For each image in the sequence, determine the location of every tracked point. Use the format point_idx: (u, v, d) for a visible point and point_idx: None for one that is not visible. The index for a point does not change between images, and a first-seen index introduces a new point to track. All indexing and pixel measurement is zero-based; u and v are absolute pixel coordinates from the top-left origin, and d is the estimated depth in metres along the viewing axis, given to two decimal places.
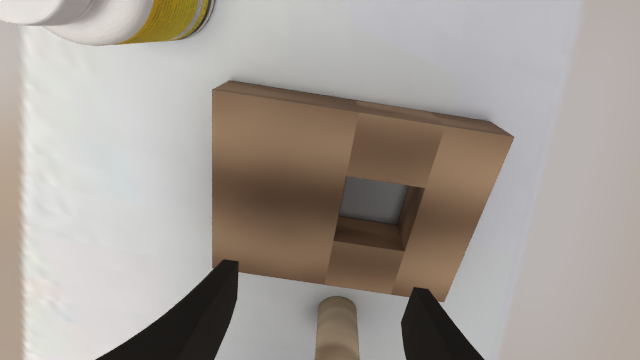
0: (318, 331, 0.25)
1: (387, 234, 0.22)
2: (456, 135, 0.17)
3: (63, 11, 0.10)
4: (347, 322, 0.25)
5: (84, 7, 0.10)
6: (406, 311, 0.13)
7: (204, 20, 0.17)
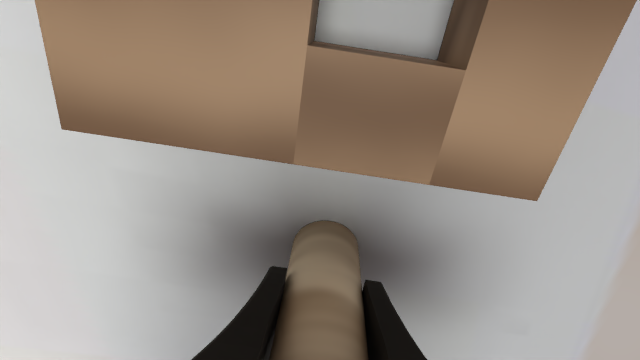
0: (288, 274, 0.13)
1: (421, 59, 0.11)
2: None
3: None
4: (341, 256, 0.13)
5: None
6: None
7: None
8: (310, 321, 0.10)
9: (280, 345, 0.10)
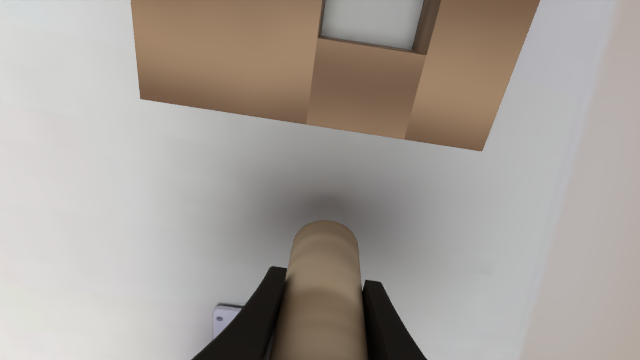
0: (288, 274, 0.13)
1: (398, 49, 0.15)
2: None
3: None
4: (341, 256, 0.13)
5: None
6: None
7: None
8: (310, 320, 0.10)
9: (280, 344, 0.10)
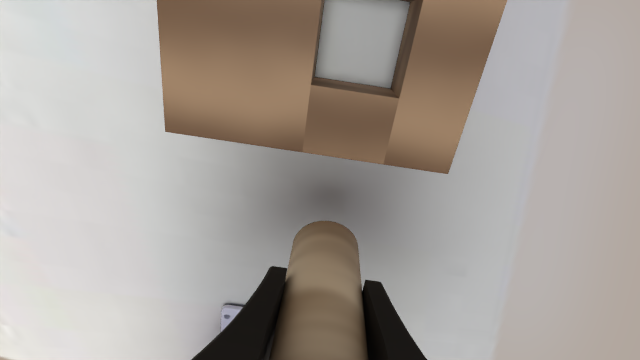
0: (287, 274, 0.13)
1: (378, 90, 0.18)
2: None
3: None
4: (341, 256, 0.13)
5: None
6: None
7: None
8: (310, 320, 0.10)
9: (280, 345, 0.10)
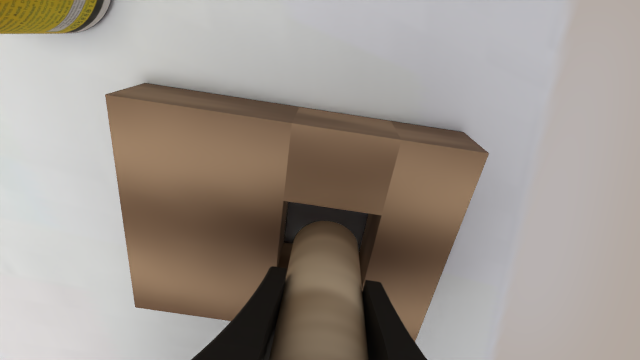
0: (287, 274, 0.13)
1: None
2: (416, 151, 0.14)
3: None
4: (341, 256, 0.13)
5: None
6: None
7: (100, 8, 0.14)
8: (310, 321, 0.10)
9: (280, 346, 0.10)
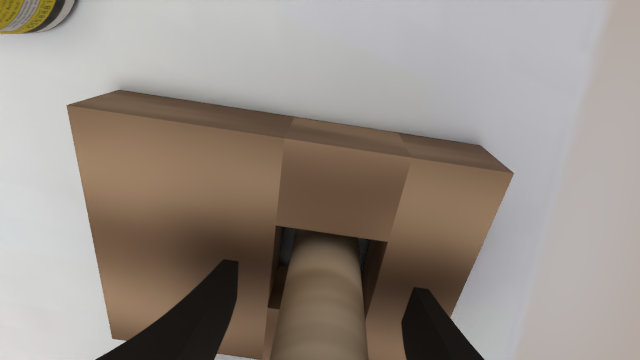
0: (291, 258, 0.14)
1: None
2: (429, 171, 0.12)
3: None
4: (341, 241, 0.14)
5: None
6: (406, 311, 0.13)
7: (62, 4, 0.12)
8: (313, 296, 0.11)
9: (285, 318, 0.11)
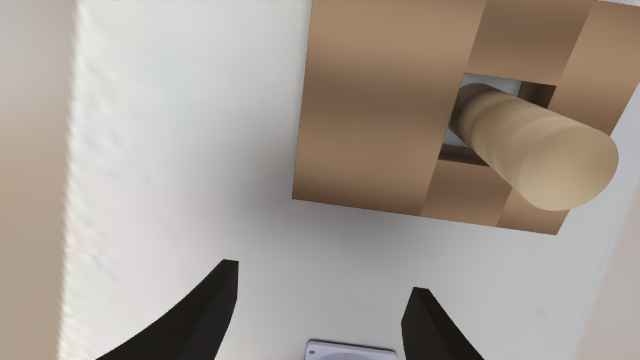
0: (465, 110, 0.17)
1: None
2: (606, 12, 0.14)
3: None
4: None
5: None
6: (406, 311, 0.13)
7: None
8: (524, 105, 0.14)
9: (505, 120, 0.13)
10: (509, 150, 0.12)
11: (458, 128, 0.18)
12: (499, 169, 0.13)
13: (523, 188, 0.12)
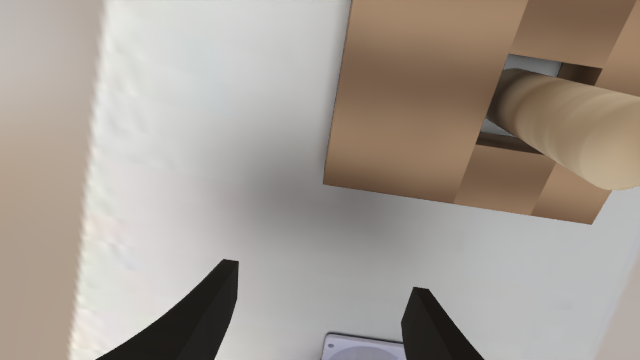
0: (506, 93, 0.17)
1: (526, 144, 0.19)
2: None
3: None
4: None
5: None
6: (406, 311, 0.13)
7: None
8: (576, 85, 0.13)
9: (558, 99, 0.13)
10: (567, 127, 0.12)
11: (497, 112, 0.17)
12: (552, 149, 0.13)
13: (584, 166, 0.11)
